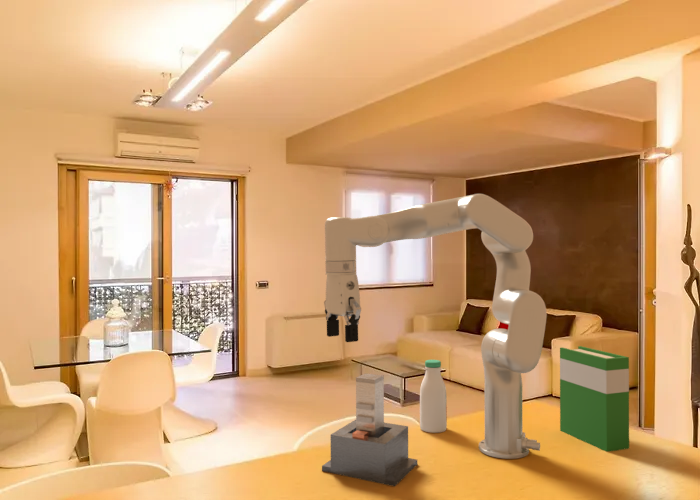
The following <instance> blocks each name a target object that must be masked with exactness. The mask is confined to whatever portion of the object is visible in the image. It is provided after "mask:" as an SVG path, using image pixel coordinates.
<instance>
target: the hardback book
mask: <svg viewBox="0 0 700 500" xmlns="http://www.w3.org/2000/svg"><path fill="white" fill-rule="evenodd" d="M559 416H560V417H559V420H560V421H559V424H560V425H559V431H560V432H562V433H564V434H566V435H569V436H571V437H573V438H575V439H578V440H580V441H582V442H584V443H586V444H588V445H591V446H593V447H595V448H597V449H599V450H600V451H601V450H602V451H604V452H606V453H607V452H609V453H610V452H615V451H621V450H628V449H630V357H628V356H624V355H621V354H620V355H619V354H616V353H611V352H608V351H603V350H599V349H594V348H591V347H587V346H582V345H579V346H577V348H576V349H571V348H566V347H559Z"/></svg>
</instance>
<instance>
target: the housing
mask: <svg viewBox="0 0 700 500" xmlns="http://www.w3.org/2000/svg"><path fill="white" fill-rule="evenodd" d="M416 466H418V459H416V458H410V457H409V426H408V425H404V424H403V425H402V424H395V423H389V422H384V434H383V435H382V436H380V437H379V438H375V437H369V432H365V431H359V430H357V431H356V419H354V420H352V421H351V422H349V423H348V424H346V425H344V426H342V427H341V428H339V429H338V430H336V431H334V432H333V433H331V434H330V460H329V461H327V462H326V463H324V464H322V465H321V471H322V472H326V473H330V474H334V475H340V476H344V477H349V478H353V479H358V480H362V481H363V480H364V481H368V482H371V483H372V482H373V483H376V484H381V485H382V484H383V485H386V486H391V487H396V486H397V485H398V484H399V483H400V482H401V481H402V480H403V479H404V478H405V477H406V476H408V475H409V473H410V472H411V471H412V470H413V469H414V468H416Z"/></svg>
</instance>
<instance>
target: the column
mask: <svg viewBox="0 0 700 500" xmlns="http://www.w3.org/2000/svg"><path fill="white" fill-rule="evenodd" d="M384 380H385V376H384V375H383V374H373V373H363V374H361V375H358V376H357V377H355V410H356V411H355V420H356V431H357V430H359V431H365V432H369V437H375V438H379V437H380V436H382V435H383V434H384V423H385V403H384V402H385V401H384V400H385V399H384V398H385V392H384V391H385V390H384V389H385V384H384V382H385V381H384Z"/></svg>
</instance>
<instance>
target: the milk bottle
mask: <svg viewBox="0 0 700 500" xmlns="http://www.w3.org/2000/svg"><path fill="white" fill-rule="evenodd" d="M424 361H425V362H424V366H425V367H424V368H425V373H424V377H423V379H422V381H421V384H420V388H419V428H420V430H421V431H422V432H427V433H431V434H436V433H437V434H439V433H443V432H446V430H447V427H448V425H447V423H448V422H447V418H448V416H447V412H448V411H447V410H448V409H447V408H448V407H447V405H448V404H447V387H446V384H445V381H444V379H443V377H442V374H441V373H442V372H441V369H442V368H441V367H442V362H441V360H439V359H427V360H424Z"/></svg>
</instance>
